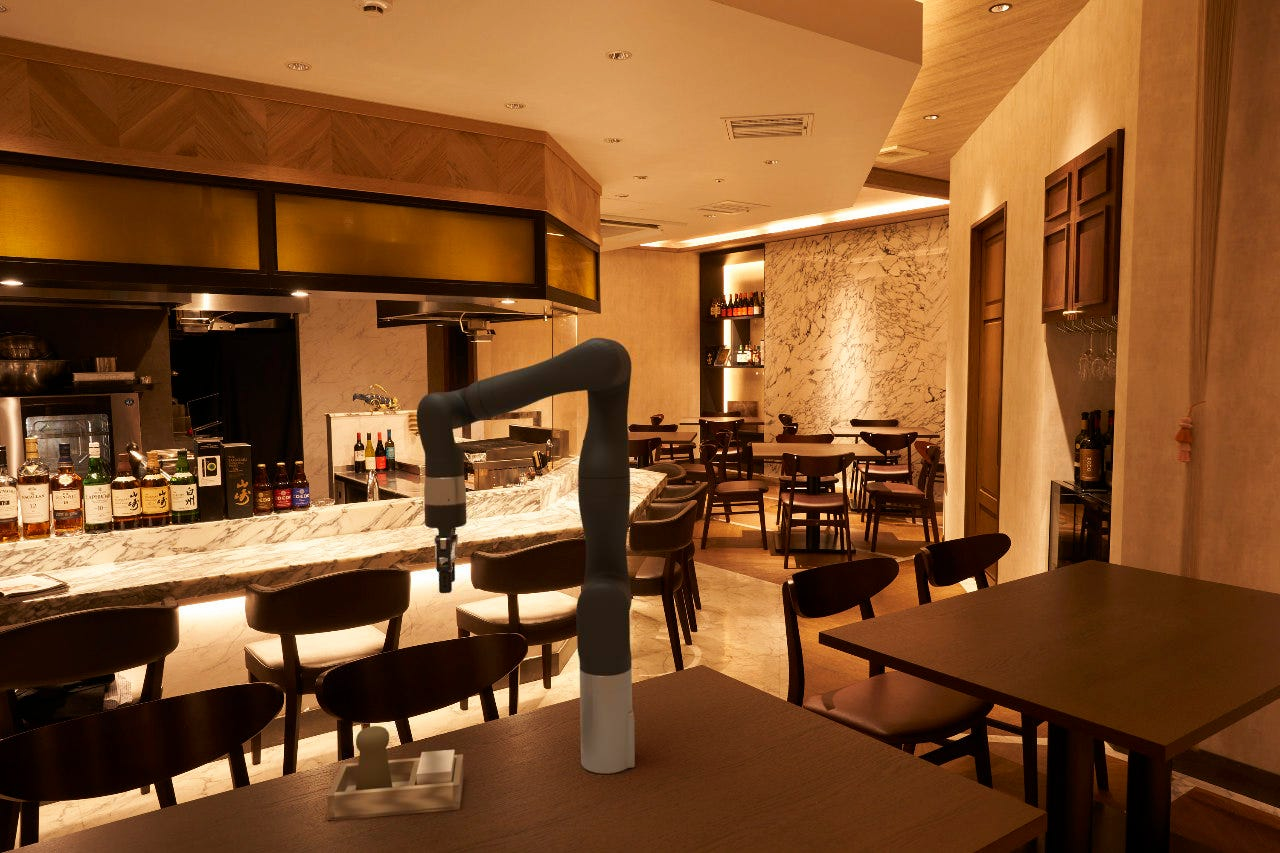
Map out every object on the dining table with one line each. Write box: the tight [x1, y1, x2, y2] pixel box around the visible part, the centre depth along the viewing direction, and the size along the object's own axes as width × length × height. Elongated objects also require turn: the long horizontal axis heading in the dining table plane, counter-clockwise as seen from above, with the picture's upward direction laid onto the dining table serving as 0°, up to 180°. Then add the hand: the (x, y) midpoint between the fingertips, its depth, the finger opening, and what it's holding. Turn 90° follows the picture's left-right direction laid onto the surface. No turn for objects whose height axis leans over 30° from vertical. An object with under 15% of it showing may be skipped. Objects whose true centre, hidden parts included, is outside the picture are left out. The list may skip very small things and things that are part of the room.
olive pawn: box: [355, 725, 392, 791], centre depth 134 cm, size 6×6×11 cm
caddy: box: [327, 749, 464, 821], centre depth 134 cm, size 20×11×6 cm, turn 99°
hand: (447, 587), depth 152 cm, fingers open, 8 cm apart
